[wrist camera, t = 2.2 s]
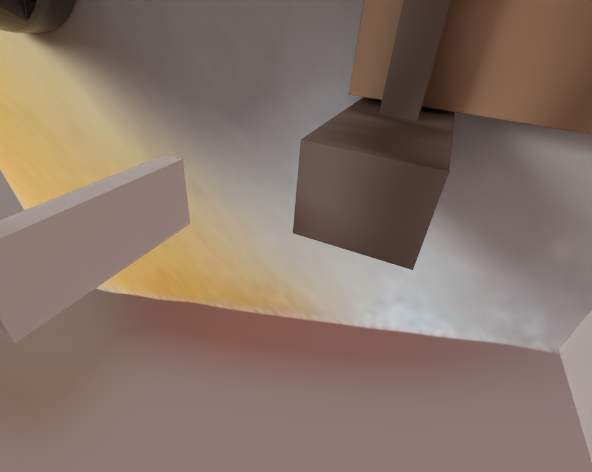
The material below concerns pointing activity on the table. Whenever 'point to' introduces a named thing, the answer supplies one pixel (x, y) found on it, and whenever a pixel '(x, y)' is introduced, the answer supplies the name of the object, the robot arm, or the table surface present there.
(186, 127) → the table surface
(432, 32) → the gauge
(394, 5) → the board
